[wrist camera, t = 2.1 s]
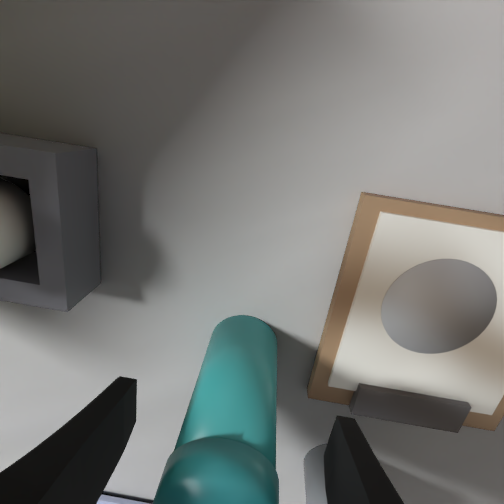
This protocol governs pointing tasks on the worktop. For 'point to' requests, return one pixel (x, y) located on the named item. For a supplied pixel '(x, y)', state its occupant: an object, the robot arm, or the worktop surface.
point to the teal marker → (229, 423)
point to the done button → (15, 224)
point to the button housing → (54, 223)
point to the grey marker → (315, 476)
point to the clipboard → (417, 317)
